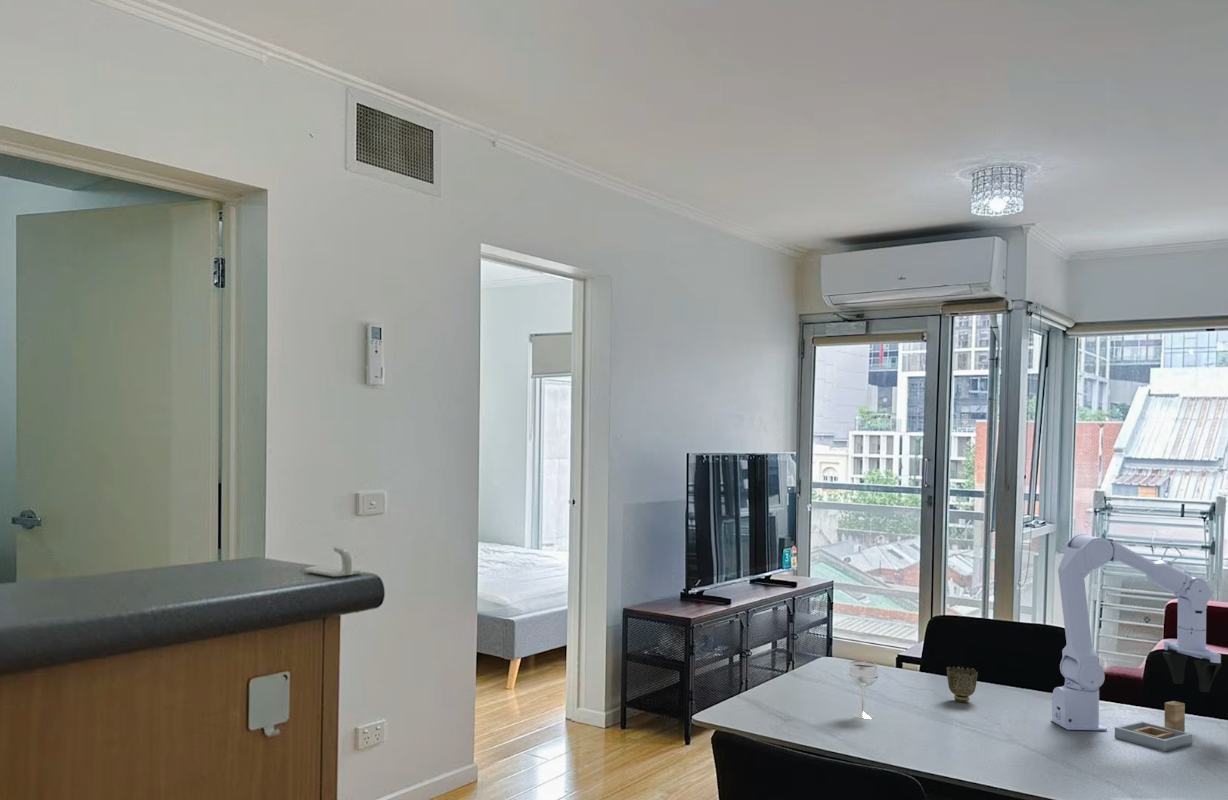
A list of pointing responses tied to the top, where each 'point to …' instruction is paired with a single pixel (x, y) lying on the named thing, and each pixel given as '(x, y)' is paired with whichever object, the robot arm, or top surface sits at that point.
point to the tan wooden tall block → (1175, 715)
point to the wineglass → (863, 680)
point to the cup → (961, 682)
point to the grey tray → (1153, 736)
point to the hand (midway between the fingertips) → (1191, 687)
